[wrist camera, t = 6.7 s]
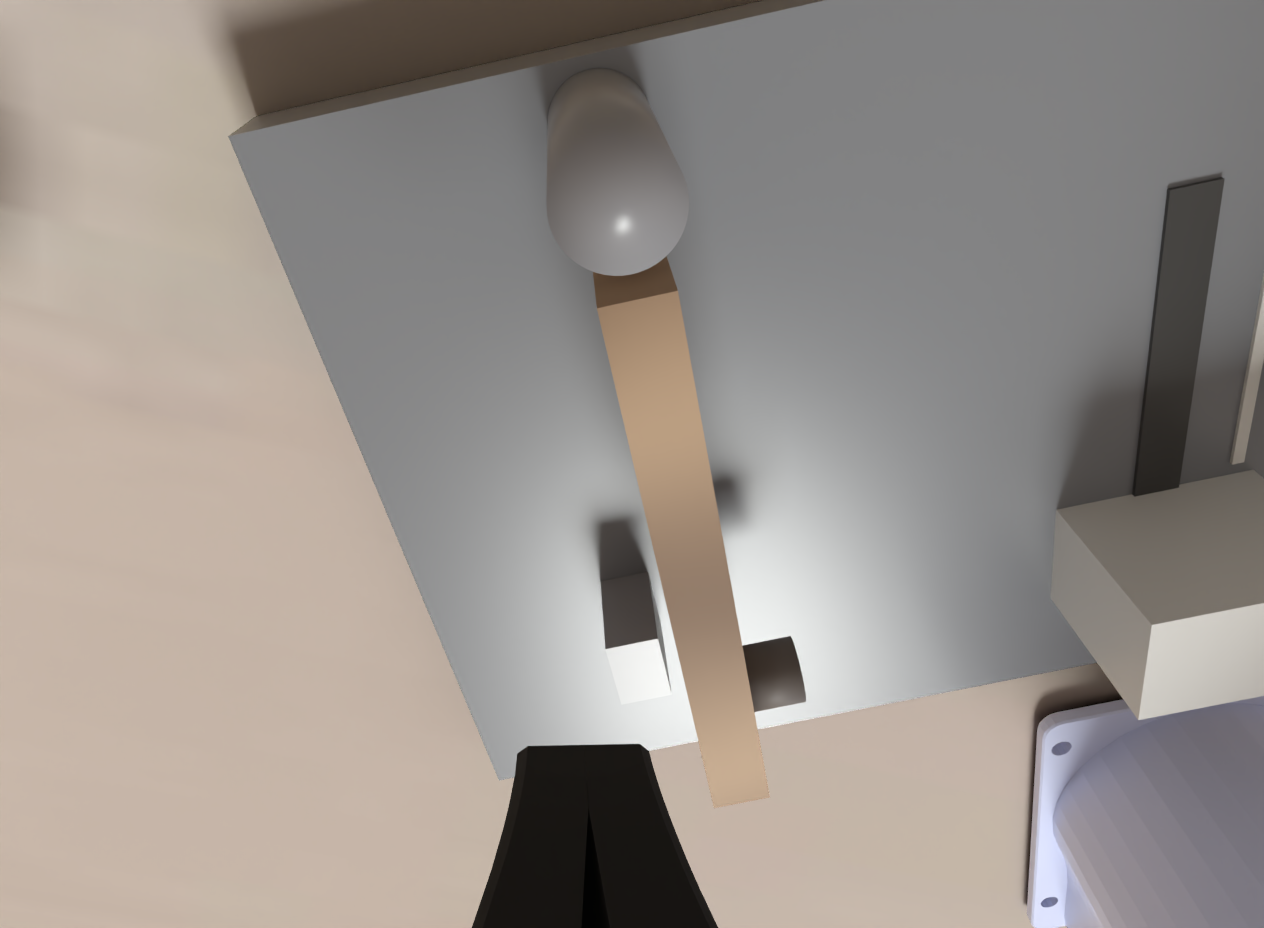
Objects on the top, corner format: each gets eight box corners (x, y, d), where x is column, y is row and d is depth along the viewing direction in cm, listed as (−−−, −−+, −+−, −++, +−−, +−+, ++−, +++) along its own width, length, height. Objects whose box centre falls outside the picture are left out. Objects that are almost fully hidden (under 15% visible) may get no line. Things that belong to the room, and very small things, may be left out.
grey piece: (1389, 554, 22) (1640, 751, 17) (501, 731, 23) (487, 968, 18) (1623, -197, 14) (2225, -252, 9) (255, 116, 15) (104, 227, 10)
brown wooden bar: (777, 632, 19) (825, 786, 16) (685, 650, 20) (713, 808, 16) (710, 185, 14) (759, 273, 11) (585, 212, 14) (597, 308, 11)
